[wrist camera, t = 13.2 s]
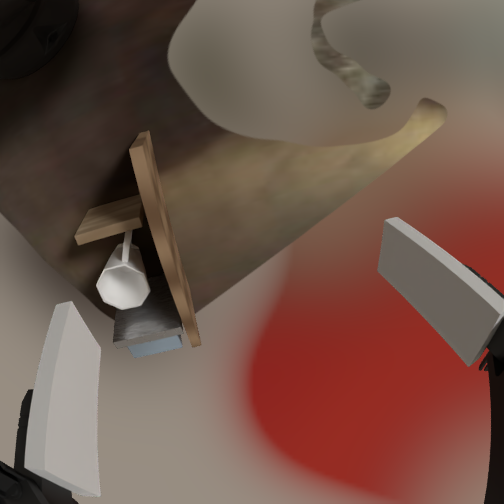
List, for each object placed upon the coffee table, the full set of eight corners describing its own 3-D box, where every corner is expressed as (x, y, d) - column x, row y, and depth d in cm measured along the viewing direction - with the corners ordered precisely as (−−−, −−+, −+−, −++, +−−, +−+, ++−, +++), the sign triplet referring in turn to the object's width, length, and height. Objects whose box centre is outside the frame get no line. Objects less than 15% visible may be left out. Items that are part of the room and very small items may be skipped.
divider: (88, 209, 34) (74, 236, 28) (143, 193, 36) (139, 217, 29) (91, 217, 35) (78, 245, 28) (145, 201, 36) (142, 227, 30)
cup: (103, 272, 40) (96, 307, 33) (107, 210, 35) (96, 238, 29) (147, 277, 42) (148, 312, 36) (156, 217, 38) (156, 245, 31)
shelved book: (128, 291, 42) (125, 343, 33) (169, 280, 44) (175, 331, 35) (135, 306, 44) (134, 358, 35) (175, 296, 45) (182, 347, 36)
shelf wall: (139, 133, 32) (128, 149, 22) (149, 130, 32) (142, 145, 22) (182, 291, 45) (192, 347, 35) (189, 289, 46) (201, 345, 36)
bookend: (119, 285, 41) (113, 342, 32) (173, 271, 43) (180, 327, 33) (124, 297, 43) (120, 354, 33) (177, 283, 44) (186, 339, 34)
